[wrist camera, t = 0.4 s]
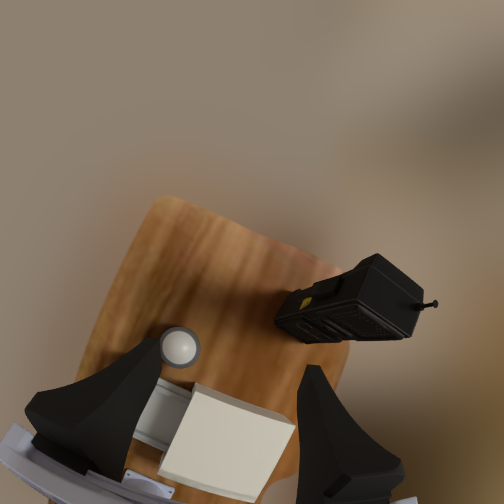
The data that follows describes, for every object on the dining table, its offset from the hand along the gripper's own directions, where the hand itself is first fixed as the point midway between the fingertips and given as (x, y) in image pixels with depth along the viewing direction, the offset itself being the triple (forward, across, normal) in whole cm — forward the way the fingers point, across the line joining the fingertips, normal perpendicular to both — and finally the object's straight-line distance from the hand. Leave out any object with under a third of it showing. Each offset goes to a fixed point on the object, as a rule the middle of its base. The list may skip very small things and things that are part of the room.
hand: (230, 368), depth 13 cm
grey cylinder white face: (+20, +8, +18) cm, 28 cm away
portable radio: (+27, -8, +14) cm, 31 cm away
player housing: (+13, +1, +29) cm, 32 cm away
